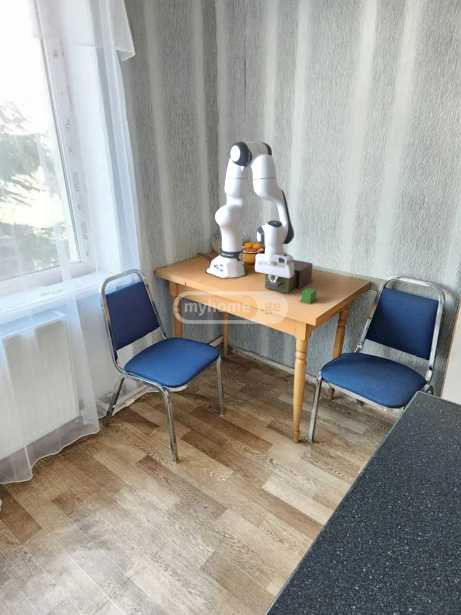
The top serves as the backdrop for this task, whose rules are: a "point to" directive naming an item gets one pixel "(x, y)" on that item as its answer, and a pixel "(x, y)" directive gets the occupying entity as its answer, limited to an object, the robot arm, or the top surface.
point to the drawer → (282, 283)
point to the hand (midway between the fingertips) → (273, 283)
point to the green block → (308, 295)
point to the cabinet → (302, 272)
